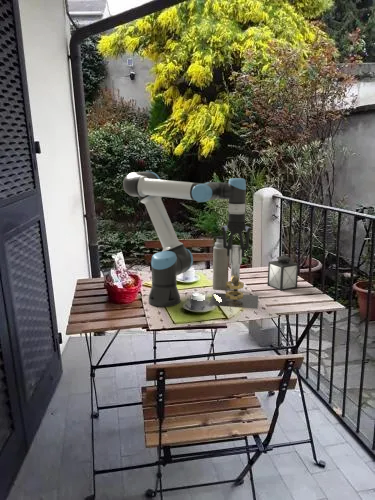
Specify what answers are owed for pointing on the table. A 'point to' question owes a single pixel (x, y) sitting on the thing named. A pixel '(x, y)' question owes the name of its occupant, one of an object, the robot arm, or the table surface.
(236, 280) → the tube
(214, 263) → the thermos bottle
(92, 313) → the table surface
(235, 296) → the collar stand
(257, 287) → the table surface
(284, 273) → the lantern
